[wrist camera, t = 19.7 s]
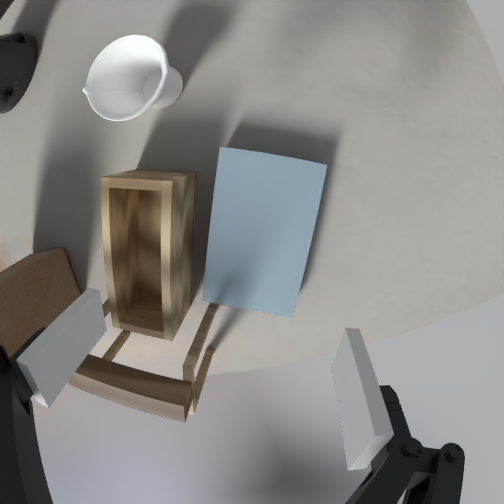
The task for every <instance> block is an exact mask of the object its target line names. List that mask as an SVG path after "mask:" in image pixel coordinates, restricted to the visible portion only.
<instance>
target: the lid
mask: <svg viewBox="0 0 504 504" xmlns="http://www.w3.org/2000/svg"><path fill="white" fill-rule="evenodd" d="M326 169H327V165H326V164H323V163H319V162H315V161H310V160H305V159H300V158H294V157H289V156H284V155H278V154H272V153H266V152H260V151H253V150H247V149H240V148H232V147H220V150H219V157H218V164H217V172H216V179H215V187H214V195H213V203H212V211H211V220H210V228H209V238H208V247H207V257H206V267H205V277H204V288H203V300H202V301H205V302H210V303H215V304H220V305H225V306H231V307H236V308H241V309H247V310H252V311H258V312H263V313H269V314H275V315H281V316H287V317H293V313H294V310H295V306H296V302H297V298H298V294H299V290H300V286H301V282H302V278H303V274H304V270H305V266H306V262H307V258H308V254H309V249H310V245H311V241H312V236H313V232H314V227H315V223H316V218H317V214H318V209H319V204H320V199H321V194H322V189H323V185H324V179H325V174H326Z"/></svg>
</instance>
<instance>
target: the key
mask: <svg viewBox="0 0 504 504" xmlns="http://www.w3.org/2000/svg"><path fill="white" fill-rule="evenodd" d="M68 383H69V384H70V385H72V386H74V387H77V388H79V389H82V390H84V391H86V392H89V393H91V394H94V395H96V396H99V397H102V398H104V399H107V400H110V401H113V402H115V403H119V404H121V405H124V406H127V407H131V408H134V409H137V410H140V411H143V412H147V413H150V414H154V415H158V416H161V417H165V418H168V419H172V420H177V421H181V422H185V421H186V418H187V415H188V412H189V409H190V406H191V403H192V400H193V393H192V383H191V382H187V381H182V380H178V379H173V378H169V377H165V376H161V375H157V374H153V373H149V372H145V371H142V370H138V369H135V368H131V367H128V366H124V365H121V364H118V363H115V362H111V361H108V360H105V359H102V358H99V357H96V356H93V355H90V354H88V355H87V356H86V358H85V359H84V360H83V362H82V363H81V364H80V366H79V367H78V368H77V370H76V371H75V372H74V374H73V375H72V377H71V378H70V379H69V381H68Z"/></svg>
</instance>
